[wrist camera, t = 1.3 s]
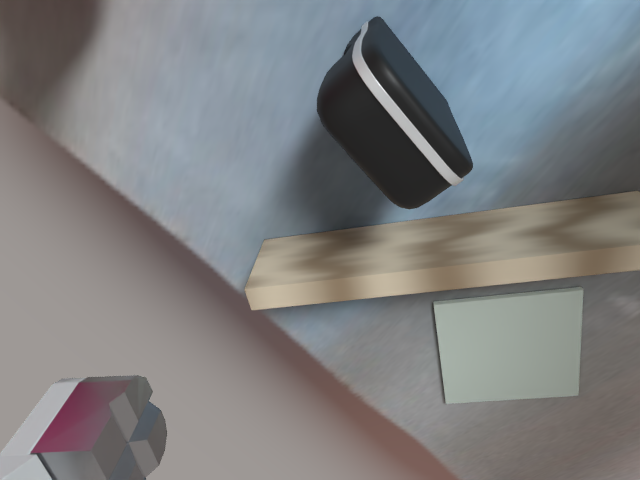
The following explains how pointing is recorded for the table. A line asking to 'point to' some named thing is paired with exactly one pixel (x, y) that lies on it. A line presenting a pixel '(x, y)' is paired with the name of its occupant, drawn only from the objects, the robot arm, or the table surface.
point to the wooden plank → (450, 252)
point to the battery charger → (392, 119)
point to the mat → (510, 345)
